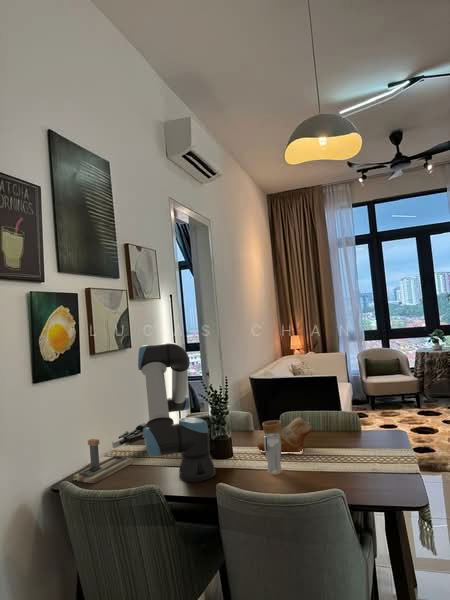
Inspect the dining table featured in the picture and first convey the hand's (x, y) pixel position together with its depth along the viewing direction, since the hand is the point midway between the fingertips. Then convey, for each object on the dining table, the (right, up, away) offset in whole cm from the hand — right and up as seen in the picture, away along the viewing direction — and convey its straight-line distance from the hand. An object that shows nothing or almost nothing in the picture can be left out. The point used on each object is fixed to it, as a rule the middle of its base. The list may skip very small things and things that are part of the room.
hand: (113, 445), depth 197 cm
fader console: (-2, -9, -8) cm, 12 cm away
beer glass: (+73, -3, -24) cm, 76 cm away
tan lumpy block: (+81, -3, +1) cm, 81 cm away
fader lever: (-5, -7, -12) cm, 15 cm away
